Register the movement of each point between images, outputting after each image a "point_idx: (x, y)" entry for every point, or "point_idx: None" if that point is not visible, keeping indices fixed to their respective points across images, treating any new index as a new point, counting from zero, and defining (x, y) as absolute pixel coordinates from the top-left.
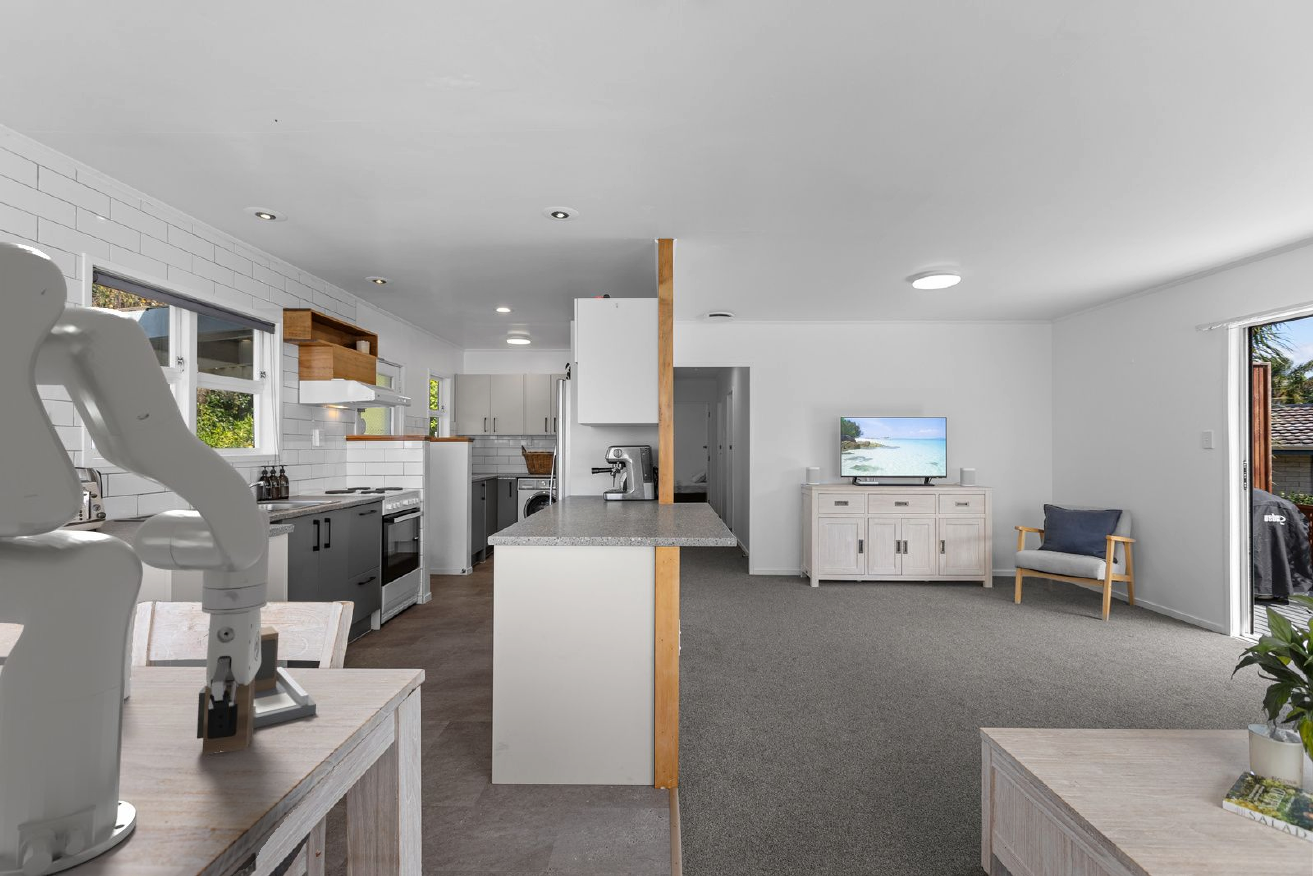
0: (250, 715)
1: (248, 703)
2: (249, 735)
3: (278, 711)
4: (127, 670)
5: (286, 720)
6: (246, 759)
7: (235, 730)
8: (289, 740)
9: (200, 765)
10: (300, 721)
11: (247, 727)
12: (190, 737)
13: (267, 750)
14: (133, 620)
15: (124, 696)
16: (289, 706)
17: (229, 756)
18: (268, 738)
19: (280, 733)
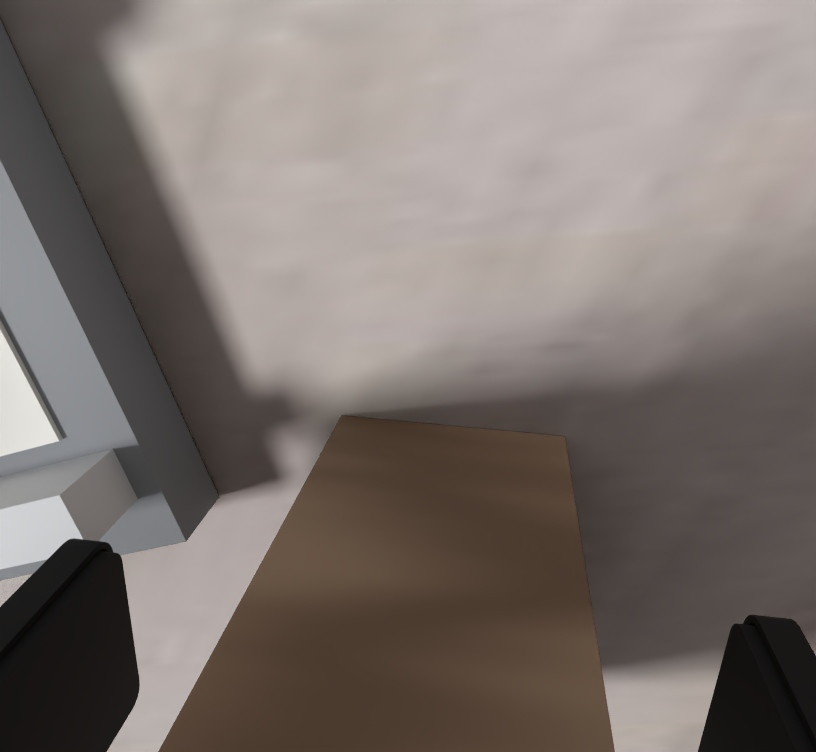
0: (437, 553)
1: (604, 720)
2: (453, 454)
3: (35, 282)
4: None
5: (79, 197)
6: (775, 422)
7: (809, 651)
8: (535, 133)
9: (708, 657)
10: (115, 73)
11: (575, 527)
12: None
13: (674, 292)
14: None
15: None
16: None
17: (648, 524)
18: (416, 304)
19: (342, 222)
